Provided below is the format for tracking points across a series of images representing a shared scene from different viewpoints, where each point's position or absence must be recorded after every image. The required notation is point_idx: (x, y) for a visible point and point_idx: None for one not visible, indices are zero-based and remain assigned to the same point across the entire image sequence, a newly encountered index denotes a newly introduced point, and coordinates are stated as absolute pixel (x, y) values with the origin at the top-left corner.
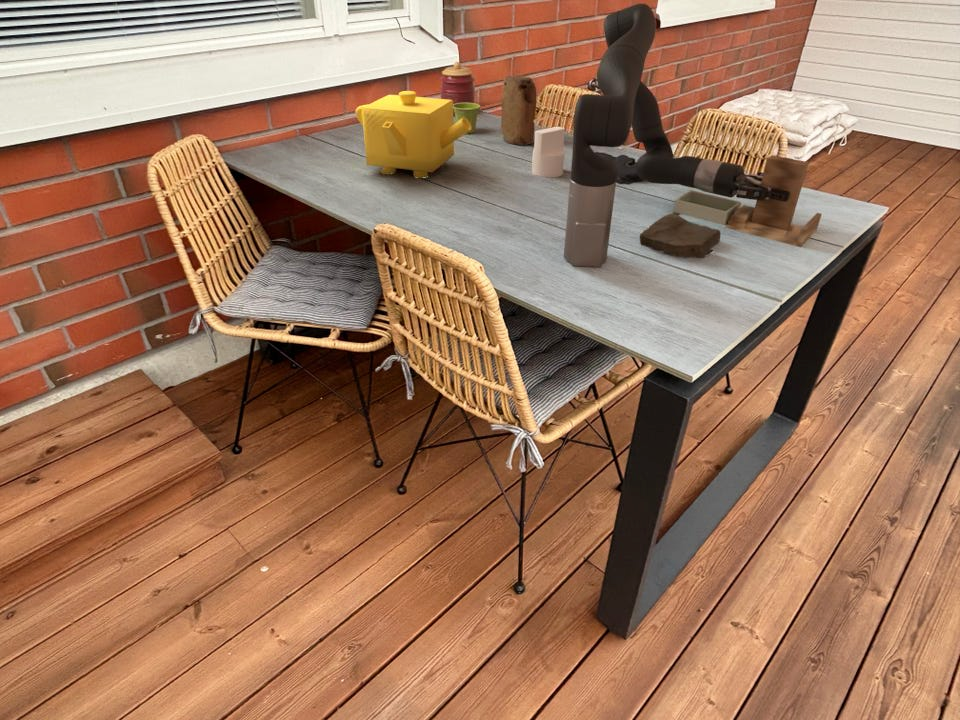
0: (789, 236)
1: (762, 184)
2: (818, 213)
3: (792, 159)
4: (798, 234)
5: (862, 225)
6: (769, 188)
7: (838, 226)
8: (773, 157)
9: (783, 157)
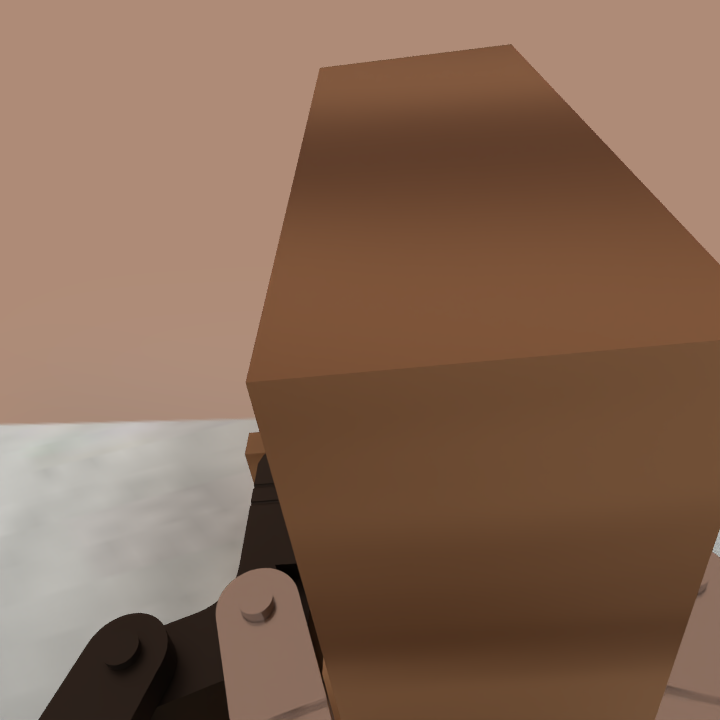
0: None
1: (711, 698)
2: (253, 446)
3: (333, 130)
4: None
5: (33, 427)
6: (711, 562)
7: (89, 488)
8: (484, 285)
9: (299, 203)
